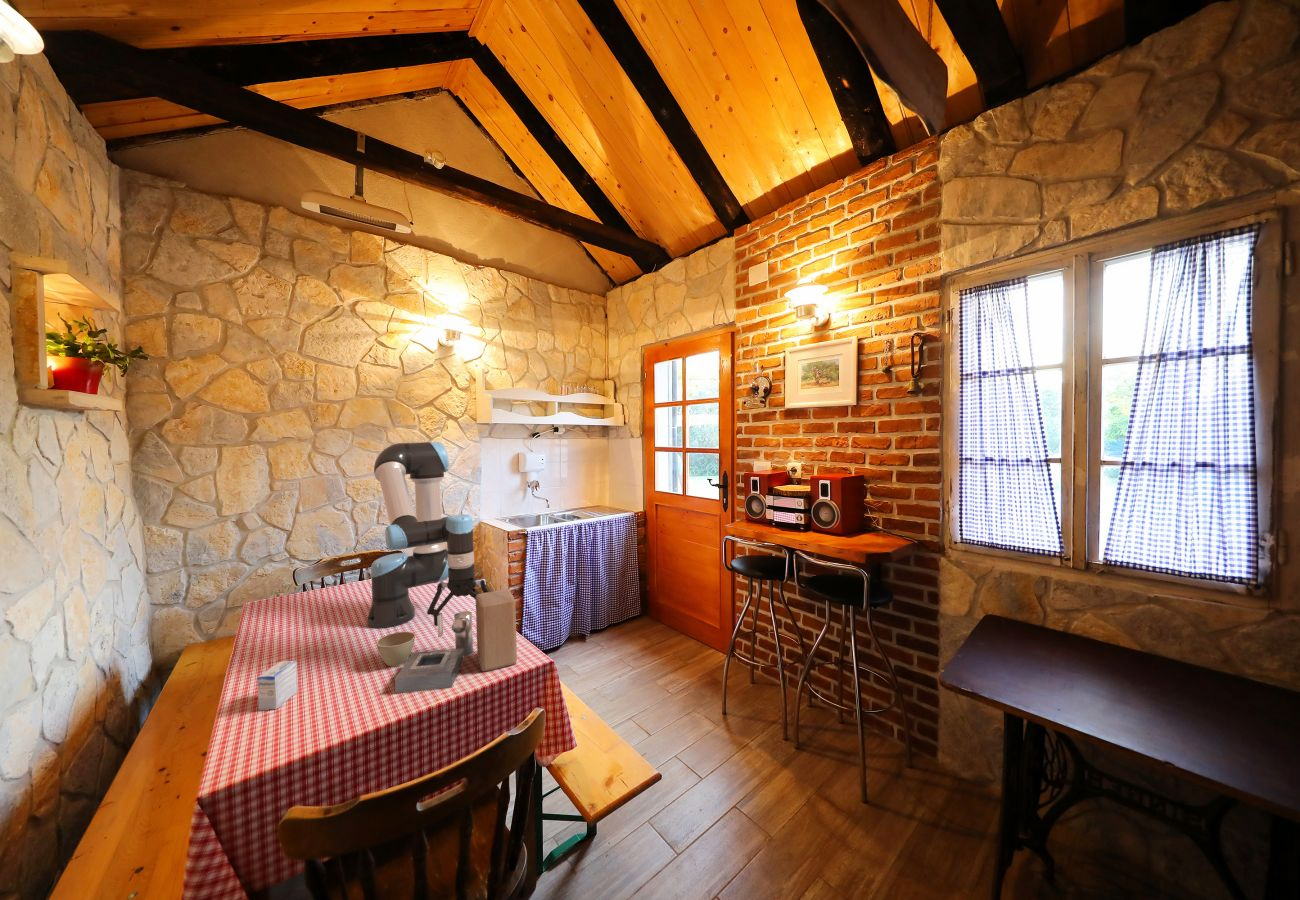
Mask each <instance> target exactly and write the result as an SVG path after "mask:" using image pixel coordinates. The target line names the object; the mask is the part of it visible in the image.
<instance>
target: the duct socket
mask: <svg viewBox="0 0 1300 900" xmlns="http://www.w3.org/2000/svg"><path fill="white" fill-rule="evenodd" d="M411 653H412V654H410V655H409V657H408V659H407V660H406V662H405V664H404V665H403V667H402V668H401V669H400V671H399V672H398V673H397V675H396V677H395V678H394V685H395V687H394V688H395V690H394V691H395V694H401V693H403V694H404V693H412V692H420V691H421V692H422V691H431V690H441V689H449V688H453V686H454V683H455V681H456V679H457V676H458V675H459V673H460V670H461V669H462V666H463V663H464V656H463V648H461V649H456V648H453V649H441V650H433V651H420V652H411Z"/></svg>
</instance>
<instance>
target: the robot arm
mask: <svg viewBox="0 0 1300 900" xmlns="http://www.w3.org/2000/svg"><path fill="white" fill-rule="evenodd" d="M449 461H450V460H449V455H448V452H447V450H446V447H445V446H444V444H443V443H441V442H435V441H434V442H433V441H425V442H398V443H397V442H396V443H394V444H391V445H388V446H387V447H386V448H385V449H383V450H382V451H381V452H380V453H379V454H378V456H377V458H376V460H375V462H374V466H373V472H374V477H375V479H376V480H377V481H378V482H379V483H380V488H381V491H382V495H383V499H384V503H385V508H386V512H387V515H388V519H389V524H390V525H388V526H386V527H385V533H384V534H385V535H384V538H385V545H386V547H387V549H388V550H390V551H395V550H396V551H397V550H406V549H410V548H411V549H412V548H413V550H412V555H408V554H407V553H405V552H398V553H397V552H395V553H391V554H387V555H385V556H384V555H383V556H381V557H379V558H377V559H375V560H374V561H373V562H372V563H371V566H370V578H371V599H372V600H371V601H372V602H371V606H370V608H369V612H368V614H367V621H366V622H367V626H368V627H370V628H373V629H385V628H391V627H395V626H400V625H403V624H405V623H408V622H410V621H411V620H413V619H414V618H415V616H416V613H415V612H416V610H415V607H414V605H413V603H412V599H411V597H410V594H409V590H410V589H411V588H416V587H421V586H426V585H432V584H436V585H437V586H436V593H435V595H434V597H433V599H432V601H431V603H430V605H429V607H428V609H427V611H426V614H427V615H428V616H429V615H431V616H432V617H433V625H434V627H437V638H442V636H443V634H444V626H443V625H444V623H443V621H444V620H443V613H442V611H443V609H444V608H445V607H446V605H447V604H448V603H449V601H450V600H451V599H452V598H453V596H455V597H456V598H457V597H468V596H471V598H473V599H474V600H475V601H476V595H478V594H480V592H478V590H477V589H476V588H475V587H476V585H478V587H479V588H480V589H481V590H482V593H486V592H491V590H490V588H489V586H488V585H487V579H486V578H484V577H483V578H481V579H478V580H477V579H476V578H475V577H476V574H475V565H474V564H475V552H474V551H475V550H474V548H475V547H474V523H473V522H474V521H473V517H472V516H471V515H470V514H464V513H463V514H454V515H449V516H443V517H442V509H441V507H442V506H441V504H442V503H441V501H442V500H441V481H442V480H443V479H444V478H445V473H447V472H449V470H450V469H449V468H450V463H449ZM406 475H409V479H410V480H411V481H412V482H413V483H414V491H415V492H414V494H415V495H414V497H415V507H414V505H413V501H412V497H411V494H410V491H409V490H410V489H409V487H408V484H407V481H406V477H405V476H406ZM444 543H446V544H444ZM447 579H448V581H447V582H444V581H446V580H447ZM437 583H438V584H437ZM446 588H447V589H448V590H449V591H450V592H449V593H448V595H447V596H446V597H445V598H444V599H443V601H442V602H441V603H440V604H439V606H438V607H437V608H436V605H437V604H438V601H439V599H440V597H441V595H442V593H443V591H444V590H445V589H446ZM435 608H436V609H435Z"/></svg>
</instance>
